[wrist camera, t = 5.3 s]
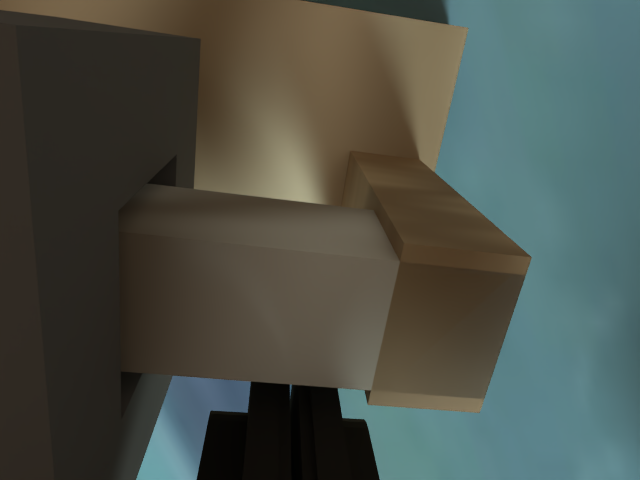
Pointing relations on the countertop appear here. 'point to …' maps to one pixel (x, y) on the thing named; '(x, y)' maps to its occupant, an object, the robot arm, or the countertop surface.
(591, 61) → the countertop surface
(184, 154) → the collar
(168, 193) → the pipe rig
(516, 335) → the countertop surface
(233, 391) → the countertop surface
